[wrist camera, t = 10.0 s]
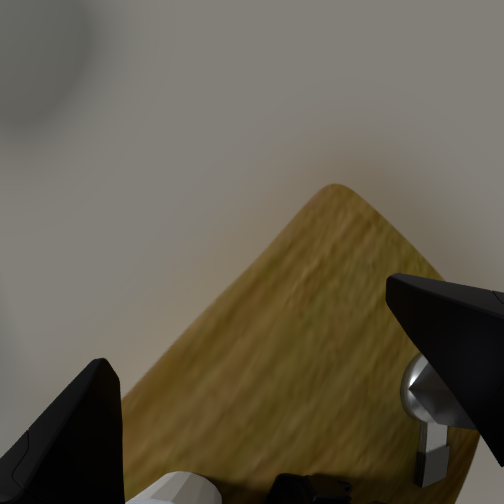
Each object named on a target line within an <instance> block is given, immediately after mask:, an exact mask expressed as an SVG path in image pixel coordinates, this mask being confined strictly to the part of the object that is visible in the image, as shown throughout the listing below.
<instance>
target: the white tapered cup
mask: <svg viewBox="0 0 504 504" xmlns="http://www.w3.org/2000/svg"><path fill="white" fill-rule="evenodd" d="M125 504H222V497H221V494H220V493H219V491H218V489H217V488H216V486H215V485H214V484H212V483H211V482H210V481H208V480H207V479H206V478H204V477H202V476H199V475H197V474H194V473H191V472H181V471H177V472H172V473H168V474H165V475H164V476H163V477H161V478H160V479H159V480H157V481H156V482H155V483H153V484H152V485H151V486H149V487H148V488H147V489H145V490H144V491H143V492H141V493H140V494H138V495H137V496H136V497H134V498H133V499H131V500H130V501H128V502H127V503H125Z"/></svg>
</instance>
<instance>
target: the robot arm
mask: <svg viewBox="0 0 504 504" xmlns="http://www.w3.org/2000/svg"><path fill="white" fill-rule="evenodd" d="M385 298H386V303H387V305H388V307H389V308H390V310H391V311H392V313H393V314H394V316H395V317H396V319H397V320H398V322H399V323H400V325H401V326H402V328H403V329H404V331H405V332H406V334H407V335H408V337H409V338H410V339H411V341H412V342H413V343H414V345H415V346H416V347H417V348H418V350H419V351H420V352H421V353H422V355H423V356H424V357H425V358H426V360H427V361H428V362H429V363H430V365H431V366H432V367H433V369H434V370H435V371H436V372H437V374H438V375H439V376H440V378H441V379H442V380H443V382H444V383H445V384H446V386H447V387H448V388H449V390H450V391H451V393H452V394H453V395H454V397H455V398H456V399H457V401H458V402H459V404H460V405H461V406H462V408H463V409H464V411H465V412H466V413H467V415H468V416H469V418H470V419H471V421H472V422H473V424H474V425H475V427H476V428H477V430H478V431H479V433H480V434H481V436H482V437H483V439H484V441H485V442H486V444H487V445H488V447H489V448H490V450H491V452H492V453H493V455H494V456H495V458H496V460H497V461H498V463H499V464H500V466H501V467H503V466H504V293H503V292H497V291H490V290H487V289H481V288H476V287H471V286H466V285H460V284H455V283H450V282H445V281H440V280H434V279H429V278H424V277H418V276H413V275H408V274H402V273H396V274H393V275H391V276H389V277H388V278H387V281H386V297H385ZM122 436H123V424H122V410H121V395H120V381H119V378H118V376H117V374H116V373H115V371H114V370H113V368H112V367H111V365H110V364H109V362H108V361H107V360H106V359H105V358H99V359H94V360H92V361H91V362H90V363H89V364H88V365H87V366H86V368H84V370H83V371H81V372H80V374H79V375H78V376H77V377H76V378H75V379H74V380H73V381H72V382H71V383H70V384H69V385H68V386H67V387H66V388H65V389H64V390H63V391H62V393H61V394H60V395H59V396H58V397H57V398H56V399H55V400H54V401H53V402H52V403H51V404H50V405H49V406H48V407H47V409H46V410H45V411H44V412H43V413H42V414H41V415H40V416H39V418H37V420H36V421H35V422H34V423H33V424H32V425H31V426H30V427H29V430H27V431H26V432H25V433H24V434H23V435H22V436H21V438H19V440H18V441H17V442H16V443H15V444H14V445H13V446H12V447H11V448H10V449H9V450H8V451H7V452H6V453H5V454H4V455H3V456H2V457H1V458H0V504H125V496H124V481H123V449H122ZM281 478H285V480H284V481H280V479H281ZM347 486H348V488H347V489H345V490H344V488H345V487H347ZM351 490H352V485H351V484H350V483H347V482H337V481H336V480H335V479H333V478H324V477H317V476H310V475H306V476H304V477H299V476H294V475H288V474H279V475H277V477H276V478H275V481H274V483H273V485H272V487H271V489H270V491H269V493H268V496H267V498H266V500H265V502H264V504H351V503H350V501H351V500H352V499H351V497H350V495H349V494H350V492H351ZM367 504H386V503H382V502H379V501H373V502H371V503H370V502H369V503H367Z"/></svg>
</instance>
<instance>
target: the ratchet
mask: <svg viewBox="0 0 504 504" xmlns="http://www.w3.org/2000/svg"><path fill="white" fill-rule="evenodd" d="M427 363H428V361H427V360H426V358H425V357H424V356H423V355H422V353H421V352H420V353H419V354H417V355H416V356H415V357H414V358H413V359H412V360H411V362H410V363H409V364H408V366H407V368H406V370H405V372H404V375H403V378H402V382H401V389H400V395H401V402H402V405H403V408H404V410H405V411H406V413H407V414H408V415H409V416H410V417H412V418H413V419H416V420H419V421H420V442H419V452H417V458H416V468H415V476H414V483H413V484H415V485H417V486H419V487H421V488H424V487H426V486H428V485H430V484H433V483H435V482H437V481H439V480H441V479H443V478H445V477H446V472H447V466H448V458H449V450H450V445H446V438H447V426H446V425H441V424H437V423H436V421H435V420H434V419H433V418H432V417H431V415H430V414H429V413H428V412H427V411H426V410H425V408H424V407H423V406H422V405H421V404H420V402H419V401H418V400H417V399H416V398H415V397H414V395H413V394H412V393H411V392H410V391H409V390H408V388H409V387H410V386H411V384H412V383H413V382H414V381H415V379H416V378H417V377H418V375H419V374H420V373H421V371H422V370H423V369H424V367H425V366H426V365H427Z"/></svg>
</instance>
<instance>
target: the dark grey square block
mask: <svg viewBox="0 0 504 504" xmlns="http://www.w3.org/2000/svg"><path fill="white" fill-rule="evenodd" d="M408 390H409V391H410V392H411V393H412V394H413V395H414V397H415V398H416V399H417V400H418V401H419V402H420V404H421V405H422V406H423V407H424V408H425V410H426V411H427V412H428V413H429V414H430V415H431V417H432V418H433V419H434V420H435V421H436V423H437V424H441V425H446V426H452V427H459V428H466V429H474V430H477V428H476V427H475V425H474V424H473V422H472V421H471V419H470V418H469V416H468V415H467V413H466V412H465V411H464V409H463V408H462V406H461V405H460V404H459V402H458V401H457V399H456V398H455V397H454V395H453V394H452V393H451V391H450V390H449V388H448V387H447V386H446V384H445V383H444V382H443V380H442V379H441V378H440V376H439V375H438V374H437V372H436V371H435V370H434V369H433V367H432V366H431V365H430V363H429V362H428V363H427V365H426V366H425V367H424V369H423V370H422V371H421V373H420V374H419V375H418V377H417V378H416V379H415V381H414V382H413V383H412V384H411V386H410V387H409V388H408Z"/></svg>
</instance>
